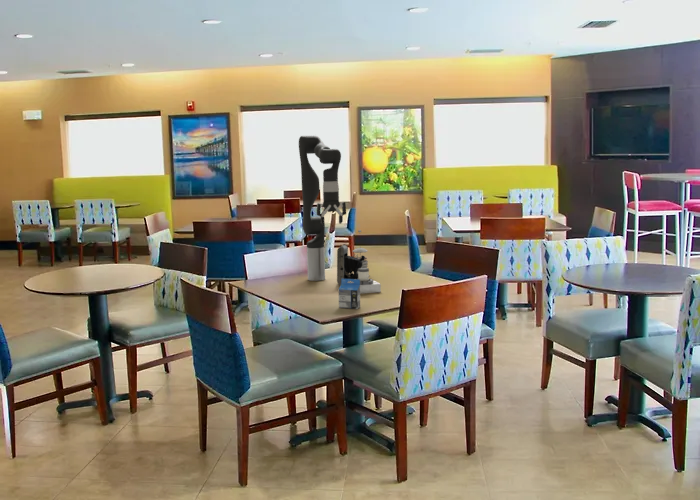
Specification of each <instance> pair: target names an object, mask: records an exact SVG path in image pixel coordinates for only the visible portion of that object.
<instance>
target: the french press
mask: <svg viewBox="0 0 700 500" xmlns="http://www.w3.org/2000/svg"><path fill="white" fill-rule="evenodd" d="M357 233H362V230H361V229H359V230H357ZM367 252H368V249H366V248H364V247H358V248H355V249H353V250H352V253H355V254H353V255H352V256H353V257H356V258H358V259H360V258H361V256H362V255H358V254H356V253H359V254H361V253H367ZM362 262H363V263H362V267H361V268H368V267H369V266H368V258H367V257H366V256H365V259H364V260H362ZM357 274H358V271H357ZM369 277H371V275H369Z"/></svg>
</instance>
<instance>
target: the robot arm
mask: <svg viewBox="0 0 700 500" xmlns="http://www.w3.org/2000/svg"><path fill="white" fill-rule="evenodd" d="M298 152H299V153H298V154H299V159H300V171H301V172H300V173H301V191H302V192H301V193H302V194H301V195H302V229H303V233H304V235H306V236H310V235H311V236H312V235H315V236H314V237H313V238H312V239H310V240H308V241H307V242H306V262H307V265H306V266H307V280H308V281H313V282H314V281H316V282H317V281H324V280H326V260H325V259H326V257H325V242H326V241H325V239H326V238H325V236H326V235H325V233H326V226H325V225H326V224H325V216H326V214H327V213H331V212H336V213H337V214H338V223H339V224H343V222H344V220H343V219H344V218H343V216H345V215H347V207H346V202H344V201H342V202H340V196H339V195H340V191H339V190H340V188H339V187H340V186H339V178H338V177H339V175H338V174H339V167H340V163H341V158H342V153H341V151H340V150H339V149H338V148H330V147H329V146H328V145H325V144H324V142H323V141H322V139H321V138H320V137H319V136H317V135H300V137H299V138H298ZM309 154H310V155H311V154H313V155H315V156H316V157H317V158H318V159H319V162H320V163H321V164H323V165H324V164H325V165H331V164H332V165H331V167H329V168H326V169H324V170H323V171H322V175H323V177H322V179H323V182H322V183H323V185H322V192H323V193H322V197H323V199H322V200H323V202H322V203H319V202H318V203H316V216H312V215H311V214H312V209H313V206H314V204H315V202H316V200H317V198H318V196H319V194H320V188H321V187H320V178H319V176H318V173H317V172H316V171H315V170H314V168H313V166H312V165H311V163H310V162H309V157H308V155H309ZM340 206H341V210H340V208H339V207H340ZM322 207H323V208H324V209H322ZM321 209H322V211H321ZM341 211H342V212H341Z"/></svg>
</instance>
